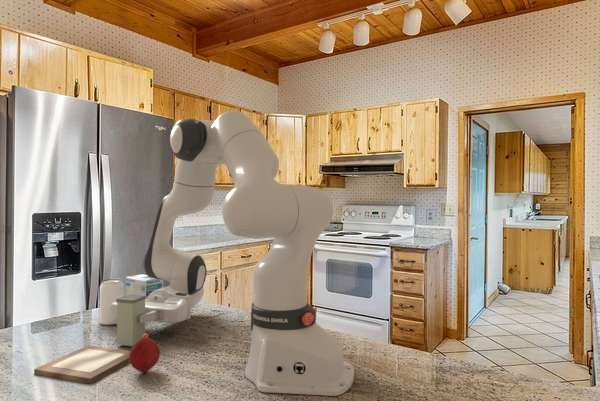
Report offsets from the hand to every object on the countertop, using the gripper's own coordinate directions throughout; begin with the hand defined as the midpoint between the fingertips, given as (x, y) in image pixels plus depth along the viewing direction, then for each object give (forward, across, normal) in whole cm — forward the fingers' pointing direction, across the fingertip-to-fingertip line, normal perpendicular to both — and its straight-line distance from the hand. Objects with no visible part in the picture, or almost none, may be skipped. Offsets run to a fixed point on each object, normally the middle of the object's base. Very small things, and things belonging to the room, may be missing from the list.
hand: (128, 318), depth 98 cm
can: (-14, -17, +7) cm, 23 cm away
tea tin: (-1, 0, +6) cm, 6 cm away
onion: (+12, +14, +7) cm, 19 cm away
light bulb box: (-27, -16, +7) cm, 32 cm away
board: (+12, 0, +7) cm, 14 cm away
